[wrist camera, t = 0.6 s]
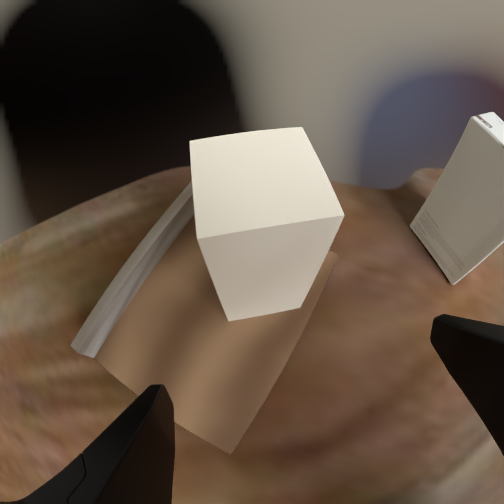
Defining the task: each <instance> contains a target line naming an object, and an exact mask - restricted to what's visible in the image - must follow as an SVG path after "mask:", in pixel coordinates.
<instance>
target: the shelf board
mask: <svg viewBox="0 0 504 504" xmlns="http://www.w3.org/2000/svg"><path fill="white" fill-rule="evenodd" d="M338 256H339V255H338V254H336V253H334V252H332V251H330V250H328V253H327V255H326V257H325V259H324V261H323V263H322V265H321V267H320V269H319V271H318V273H317V275H316V278H315V280H314V282H313V284H312V286H311V288H310V290H309V292H308V294H307V295H306V297H305V299H304V301H303V303H302V305H301V307H300V308H297V309H292V310H287V311H282V312H277V313H272V314H267V315H262V316H256V317H251V318H245V319H240V320H234V321H228V319H227V317H226V314H225V312H224V309H223V307H222V304H221V302H220V299H219V297H218V294H217V292H216V289H215V286H214V284H213V281H212V278H211V276H210V273H209V271H208V268H207V265H206V262H205V260H204V257H203V254H202V252H201V249H200V246H199V243H198V241H197V234H196V224H195V213H194V201H193V188H192V181H191V182H190V183H189V185H188V186H187V187H186V188H185V189H184V190H183V191H182V193H181V194H180V195H179V196H178V197H177V198H176V200H175V201H174V202H173V203H172V204H171V205H170V207H169V208H168V209H167V210H166V211H165V213H164V214H163V215H162V216H161V218H160V219H159V220H158V221H157V222H156V224H155V225H154V226H153V227H152V229H151V230H150V231H149V232H148V234H147V235H146V236H145V238H144V239H143V240H142V241H141V243H140V244H139V245H138V247H137V248H136V249H135V251H134V252H133V253H132V254H131V256H130V257H129V258H128V260H127V261H126V263H125V264H124V265H123V267H122V268H121V269H120V271H119V272H118V274H117V275H116V276H115V278H114V279H113V281H112V282H111V283H110V285H109V286H108V288H107V289H106V291H105V292H104V294H103V295H102V296H101V298H100V299H99V301H98V302H97V304H96V305H95V307H94V308H93V310H92V312H91V313H90V315H89V316H88V318H87V319H86V321H85V322H84V324H83V326H82V327H81V329H80V330H79V332H78V334H77V335H76V337H75V339H74V340H73V342H72V344H71V347H72V348H73V349H74V350H75V351H76V352H77V353H79V354H82V355H85V356H88V357H92V358H94V359H95V360H96V361H98V362H99V363H100V364H101V365H102V366H103V367H104V368H105V369H106V370H108V371H109V372H110V373H111V374H112V375H113V376H114V377H116V378H117V379H118V380H119V381H120V382H122V383H123V384H124V385H125V386H126V387H128V388H129V389H130V390H131V391H133V392H134V393H135V394H137V395H138V396H139V395H140V394H141V393H142V392H143V391H144V390H145V389H146V388H147V387H148V386H150V385H152V384H163V385H164V386H165V387H166V389H167V391H168V394H169V396H170V398H171V400H172V402H173V405H174V422H176V423H177V424H179V425H180V426H182V427H183V428H185V429H187V430H188V431H190V432H191V433H193V434H195V435H196V436H198V437H200V438H201V439H203V440H205V441H207V442H208V443H210V444H212V445H214V446H215V447H217V448H219V449H221V450H223V451H225V452H227V453H229V454H230V455H231V453H232V452H233V450H234V449H235V447H236V446H237V444H238V443H239V441H240V440H241V438H242V437H243V435H244V434H245V432H246V430H247V429H248V427H249V426H250V424H251V423H252V421H253V419H254V418H255V416H256V414H257V413H258V411H259V410H260V408H261V406H262V405H263V403H264V401H265V400H266V398H267V396H268V394H269V393H270V391H271V389H272V388H273V386H274V384H275V382H276V381H277V379H278V377H279V375H280V374H281V372H282V370H283V368H284V366H285V365H286V363H287V361H288V359H289V357H290V355H291V353H292V352H293V350H294V348H295V346H296V344H297V342H298V340H299V338H300V336H301V334H302V332H303V330H304V329H305V327H306V325H307V323H308V321H309V319H310V317H311V315H312V312H313V310H314V308H315V306H316V304H317V302H318V300H319V298H320V296H321V294H322V292H323V290H324V287H325V285H326V283H327V281H328V279H329V276H330V274H331V272H332V270H333V268H334V265H335V263H336V261H337V258H338Z"/></svg>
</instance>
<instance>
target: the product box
mask: <svg viewBox="0 0 504 504" xmlns="http://www.w3.org/2000/svg"><path fill="white" fill-rule="evenodd" d="M190 157H191V173H192V188H193V201H194V213H195V224H196V234H197V241H198V243H199V246H200V249H201V252H202V254H203V257H204V260H205V262H206V265H207V268H208V271H209V273H210V276H211V278H212V281H213V284H214V286H215V289H216V292H217V294H218V297H219V299H220V302H221V304H222V307H223V309H224V312H225V314H226V317H227V319H228V321H234V320H240V319H245V318H251V317H256V316H262V315H267V314H272V313H277V312H282V311H287V310H292V309H297V308H300V307H301V305H302V303H303V301H304V299H305V297H306V295H307V294H308V292H309V290H310V288H311V286H312V284H313V282H314V280H315V278H316V275H317V273H318V271H319V269H320V267H321V265H322V263H323V261H324V259H325V257H326V255H327V253H328V250H329V248H330V246H331V244H332V242H333V240H334V238H335V235H336V233H337V231H338V229H339V226H340V224H341V222H342V220H343V217H344V213H343V210H342V208H341V206H340V204H339V201H338V199H337V197H336V195H335V192H334V190H333V188H332V186H331V184H330V181H329V179H328V177H327V175H326V173H325V171H324V169H323V167H322V165H321V163H320V161H319V159H318V157H317V155H316V153H315V151H314V149H313V147H312V145H311V143H310V141H309V139H308V137H307V135H306V133H305V132H304V130H303V128H302V127H294V128H282V129H272V130H261V131H252V132H244V133H237V134H230V135H223V136H216V137H211V138H205V139H199V140H193V141H190Z"/></svg>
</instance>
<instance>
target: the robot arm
mask: <svg viewBox="0 0 504 504" xmlns="http://www.w3.org/2000/svg"><path fill="white" fill-rule="evenodd" d="M430 340H431V343H432V345H433V347H434V348H435V350H436V352H437V353H438V355H439V356H440V358H441V360H442V361H443V363H444V365H445V367H446V368H447V370H448V371H449V373H450V375H451V376H452V377H453V379H454V380H455V382H456V383H457V384H458V386H459V387H460V389H461V390H462V391H463V393H464V394H465V396H466V397H467V399H468V400H469V401H470V403H471V404H472V406H473V407H474V409H475V410H476V412H477V413H478V415H479V416H480V418H481V419H482V421H483V422H484V424H485V426H486V427H487V429H488V430H489V432H490V434H491V435H492V437H493V438H494V440H495V442H496V443H497V445H498V447H499V449H500V450H501V452H502V454H503V456H504V326H501V325H496V324H491V323H486V322H481V321H476V320H471V319H466V318H461V317H456V316H451V315H447V314H442V315H440V316H437V317H435V318H434V320H433V325H432V330H431V336H430ZM82 453H83V454H82ZM82 453H80V454H79V455H78V456H77V457H76V458H75V459H74V460H73V461H72V462H71V463H70V464H69V465H68V466H66V467H65V468H64V469H63V470H62V471H61V472H59V473H58V474H57V475H56V476H54V477H53V478H52V479H50V480H49V481H48V482H46V483H45V484H44V485H42V486H41V487H39V488H38V489H37V490H35V491H34V492H32V493H31V494H30V495H28V496H27V497H25V498H23V499H21V500H18V501H13V502H0V504H171V502H172V485H173V471H174V458H175V430H174V405H173V402H172V400H171V398H170V396H169V394H168V391H167V389H166V387H165V386H164V385H163V384H152V385H150V386H148V387H147V388H146V389H145V390H144V391H143V392H142V393H141V394H140V395H139V396H138V397H137V398H136V399H135V400H134V401H133V402H132V403H131V404H130V405H129V406H128V407H127V408H126V409H125V410H124V411H123V412H122V413H121V414H120V415H119V416H118V417H117V418H116V419H115V420H114V421H113V422H112V423H111V424H110V425H109V426H108V427H107V428H106V429H105V430H104V431H103V432H102V433H101V434H100V435H99V436H98V437H97V438H96V439H95V440H94V441H93V442H92V443H91V444H90V445H89V446H88V447H87V448H86V449H85V450H84V451H83V452H82Z"/></svg>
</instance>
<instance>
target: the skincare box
mask: <svg viewBox="0 0 504 504" xmlns="http://www.w3.org/2000/svg"><path fill="white" fill-rule="evenodd" d="M410 228H411V229H412V230H413V232H414V233H415V234H416V235H417V237H418V238H419V239H420V240H421V242H422V243H423V244H424V246H425V247H426V248H427V250H428V251H429V253H430V254H431V255H432V257H433V258H434V259H435V261H436V262H437V264H438V265H439V267H440V268H441V269H442V271H443V272H444V274H445V275H446V277H447V278H448V280H449V281H450V283H451V284H452V285H454V284H455V283H457V282H458V281H459V280H460V279H462V278H463V277H464V276H465V275H467V274H468V273H469V272H470V271H471V270H473V269H474V268H475V267H476V266H477V265H479V264H480V263H481V262H482V261H483V260H484V259H485V258H487V257H488V256H489V255H490V254H491V253H492V252H493V251H494V250H496V249H497V248H498V247H499V246H500V245H501V244H502V243H503V242H504V122H503V121H502V120H501V119H500V118H499V117H498V116H497V115H496V114H495V113H494V112H489V113H486V114H481V115H478V116H473V117H471V118H470V120H469V123H468V125H467V127H466V129H465V131H464V133H463V135H462V137H461V139H460V141H459V143H458V145H457V147H456V149H455V151H454V153H453V155H452V156H451V158H450V160H449V162H448V164H447V165H446V167H445V169H444V171H443V172H442V174H441V176H440V178H439V179H438V181H437V183H436V185H435V186H434V188H433V190H432V191H431V193H430V194H429V196H428V198H427V199H426V201H425V203H424V204H423V206H422V207H421V209H420V210H419V212H418V213H417V215H416V216H415V218H414V220H413V221H412V223H411V224H410Z"/></svg>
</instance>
